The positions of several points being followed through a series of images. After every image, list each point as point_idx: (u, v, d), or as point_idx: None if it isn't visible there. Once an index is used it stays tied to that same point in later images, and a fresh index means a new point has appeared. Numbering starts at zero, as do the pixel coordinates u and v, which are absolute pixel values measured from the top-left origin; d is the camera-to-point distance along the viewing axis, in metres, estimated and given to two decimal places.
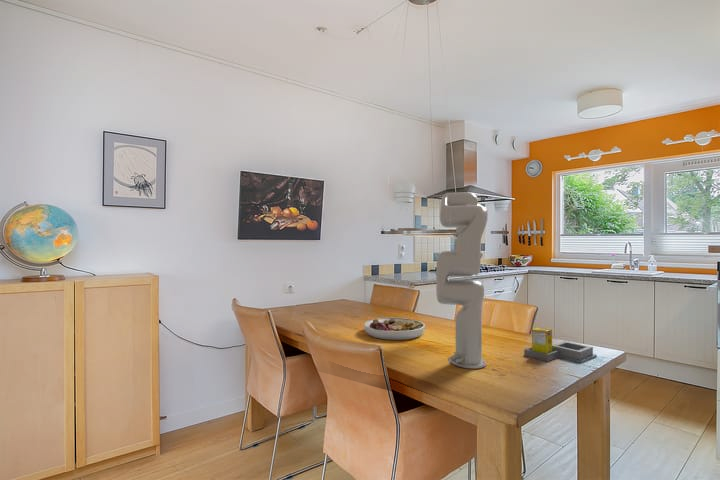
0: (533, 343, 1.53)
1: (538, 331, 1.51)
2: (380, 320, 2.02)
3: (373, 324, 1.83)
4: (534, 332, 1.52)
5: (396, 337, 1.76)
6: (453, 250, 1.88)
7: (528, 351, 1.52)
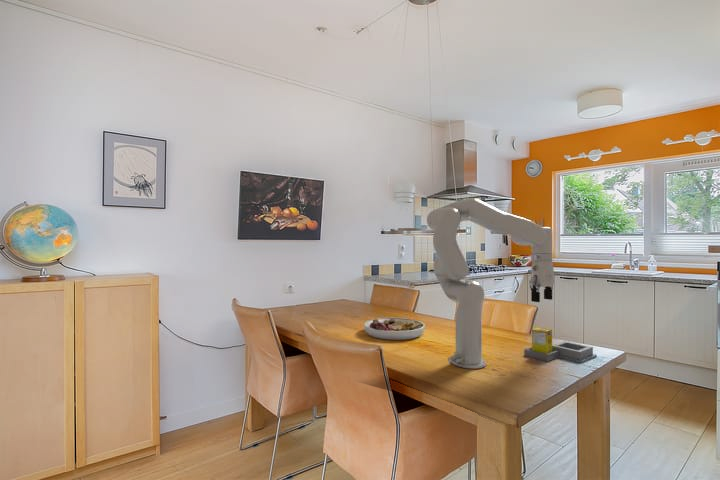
0: (533, 343, 1.53)
1: (538, 331, 1.51)
2: (380, 320, 2.02)
3: (373, 324, 1.83)
4: (534, 332, 1.52)
5: (396, 337, 1.76)
6: (536, 276, 1.49)
7: (528, 351, 1.52)
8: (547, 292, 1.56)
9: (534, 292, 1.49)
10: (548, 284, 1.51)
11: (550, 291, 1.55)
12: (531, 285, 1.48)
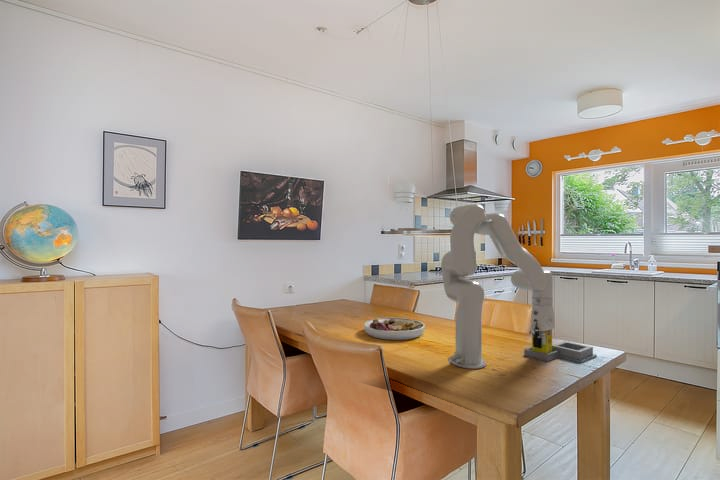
0: None
1: None
2: (380, 320, 2.02)
3: (373, 324, 1.83)
4: None
5: (396, 337, 1.76)
6: (536, 322, 1.50)
7: (528, 351, 1.52)
8: None
9: (536, 338, 1.50)
10: (548, 328, 1.51)
11: None
12: (533, 332, 1.49)
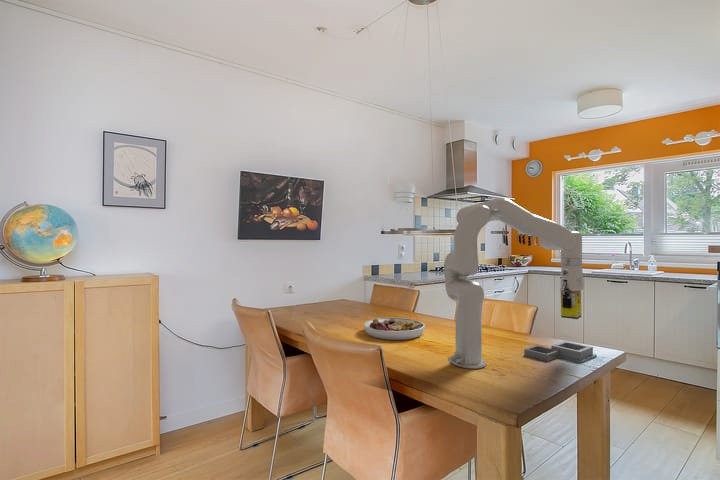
0: (562, 304, 1.53)
1: (567, 292, 1.52)
2: (380, 320, 2.02)
3: (373, 324, 1.83)
4: None
5: (396, 337, 1.76)
6: (566, 282, 1.50)
7: (528, 351, 1.52)
8: None
9: (566, 298, 1.50)
10: (578, 289, 1.51)
11: None
12: (563, 292, 1.49)
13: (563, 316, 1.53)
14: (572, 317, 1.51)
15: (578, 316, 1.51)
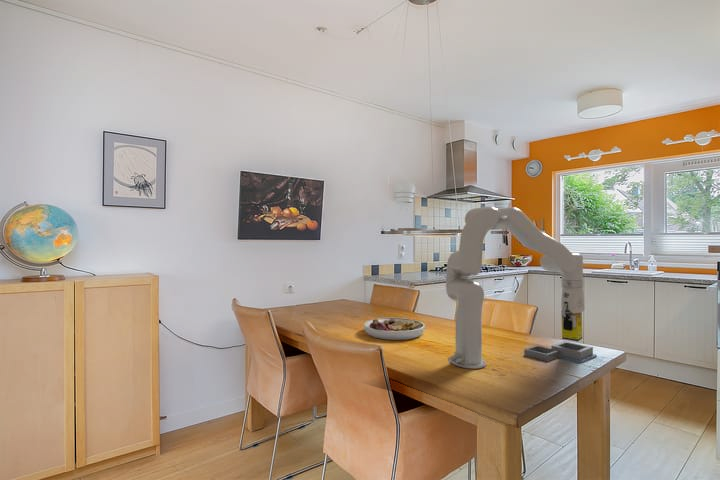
0: None
1: (568, 314, 1.52)
2: (380, 320, 2.02)
3: (373, 324, 1.83)
4: None
5: (396, 337, 1.76)
6: (567, 304, 1.50)
7: (528, 351, 1.52)
8: None
9: (566, 320, 1.51)
10: (579, 311, 1.51)
11: None
12: (564, 314, 1.49)
13: (564, 338, 1.53)
14: (573, 339, 1.51)
15: (579, 338, 1.51)
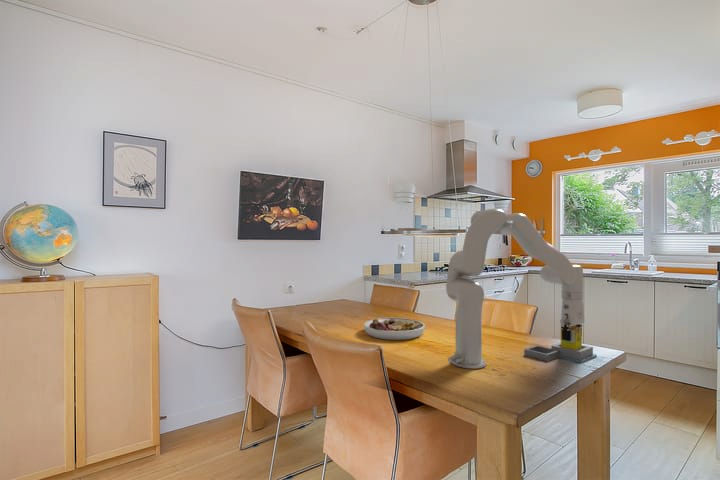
0: (562, 341, 1.53)
1: None
2: (380, 320, 2.02)
3: (373, 324, 1.83)
4: None
5: (396, 337, 1.76)
6: (567, 315, 1.50)
7: (528, 351, 1.52)
8: None
9: (565, 331, 1.50)
10: (579, 322, 1.51)
11: None
12: (562, 324, 1.49)
13: None
14: None
15: None
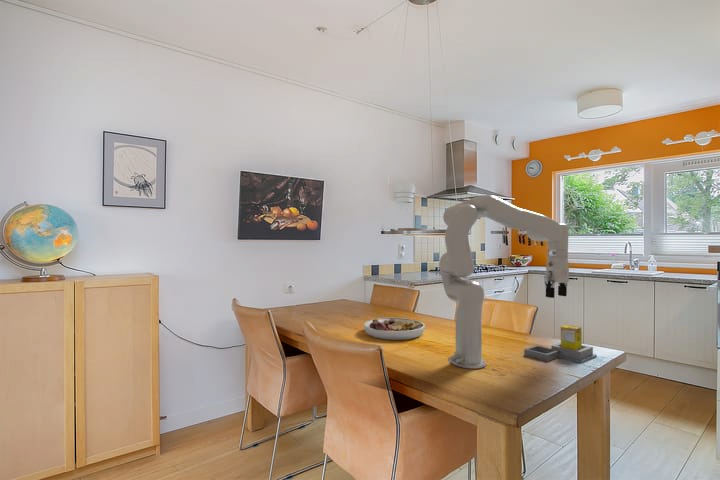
0: (562, 341, 1.53)
1: (567, 329, 1.52)
2: (380, 320, 2.02)
3: (373, 324, 1.83)
4: (563, 330, 1.53)
5: (396, 337, 1.76)
6: (551, 272, 1.51)
7: (528, 351, 1.52)
8: (561, 289, 1.57)
9: (549, 288, 1.50)
10: (563, 280, 1.51)
11: (564, 288, 1.56)
12: (546, 280, 1.49)
13: None
14: None
15: None
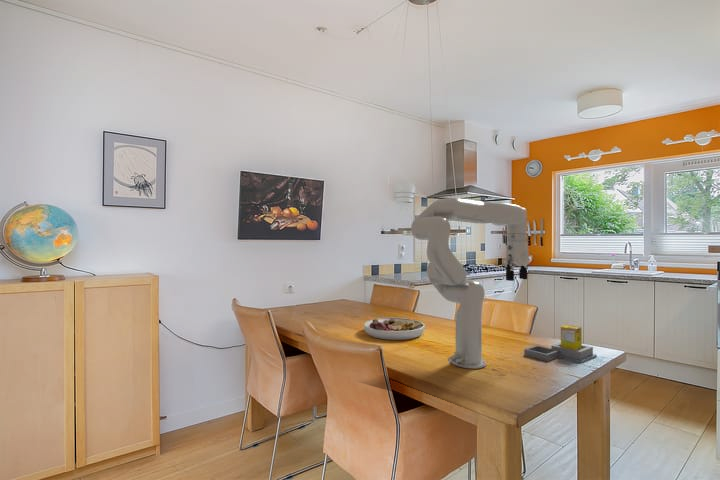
0: (562, 341, 1.53)
1: (567, 329, 1.52)
2: (380, 320, 2.02)
3: (373, 324, 1.83)
4: (563, 330, 1.53)
5: (396, 337, 1.76)
6: (510, 255, 1.53)
7: (528, 351, 1.52)
8: (522, 272, 1.59)
9: (508, 271, 1.53)
10: (522, 263, 1.54)
11: (525, 271, 1.58)
12: (505, 264, 1.51)
13: None
14: None
15: None
